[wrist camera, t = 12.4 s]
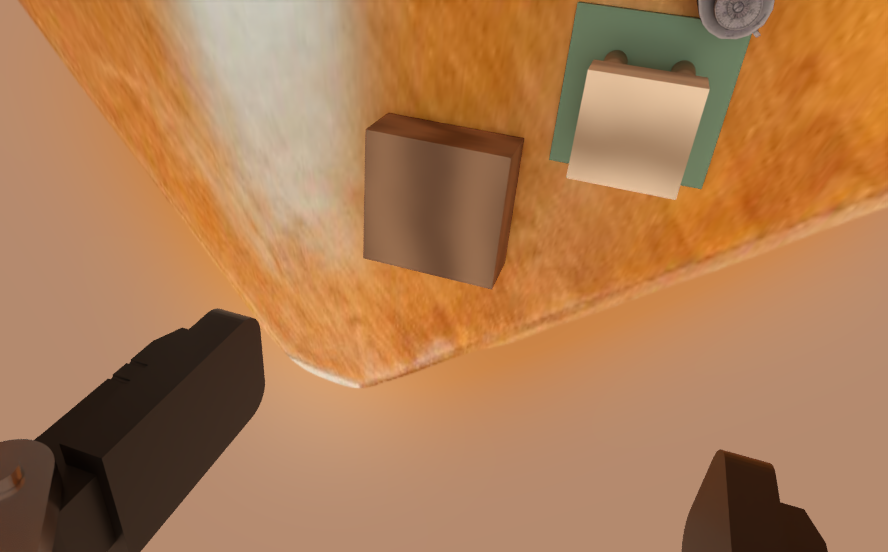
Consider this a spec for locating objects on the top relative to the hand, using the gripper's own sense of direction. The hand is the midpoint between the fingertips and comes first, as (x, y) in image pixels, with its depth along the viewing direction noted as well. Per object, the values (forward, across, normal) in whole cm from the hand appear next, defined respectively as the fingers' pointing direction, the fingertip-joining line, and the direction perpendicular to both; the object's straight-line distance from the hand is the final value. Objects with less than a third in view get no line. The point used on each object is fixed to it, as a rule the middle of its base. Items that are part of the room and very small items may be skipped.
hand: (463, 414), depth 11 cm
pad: (+34, -2, +3) cm, 34 cm away
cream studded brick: (+34, -2, +3) cm, 34 cm away
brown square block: (+34, +10, +12) cm, 38 cm away
